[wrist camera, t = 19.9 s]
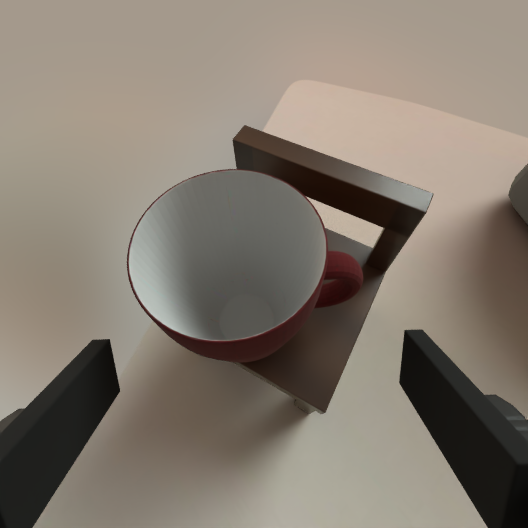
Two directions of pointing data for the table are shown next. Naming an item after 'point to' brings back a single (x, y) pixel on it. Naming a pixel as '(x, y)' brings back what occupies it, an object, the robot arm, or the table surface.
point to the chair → (370, 259)
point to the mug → (235, 264)
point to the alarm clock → (520, 194)
